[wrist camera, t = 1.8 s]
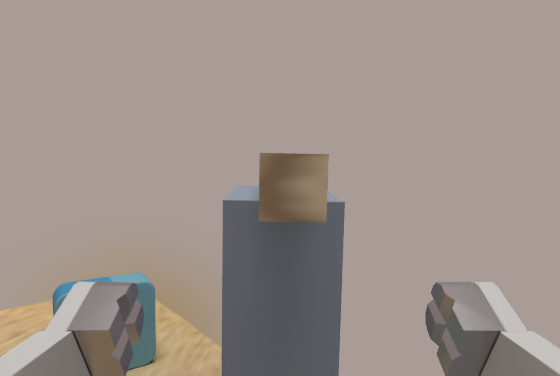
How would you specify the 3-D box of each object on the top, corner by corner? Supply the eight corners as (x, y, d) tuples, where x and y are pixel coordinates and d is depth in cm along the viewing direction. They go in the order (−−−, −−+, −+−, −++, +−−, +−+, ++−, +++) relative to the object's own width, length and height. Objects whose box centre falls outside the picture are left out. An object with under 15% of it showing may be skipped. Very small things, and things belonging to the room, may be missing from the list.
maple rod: (258, 221, 20) (259, 152, 19) (261, 186, 39) (262, 153, 39) (326, 222, 20) (328, 154, 19) (295, 187, 40) (296, 153, 39)
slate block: (220, 524, 30) (223, 200, 28) (233, 419, 42) (235, 186, 40) (333, 522, 31) (344, 202, 28) (313, 418, 43) (320, 187, 40)
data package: (148, 348, 57) (147, 270, 56) (156, 362, 53) (155, 279, 52) (55, 372, 51) (52, 284, 49) (56, 390, 47) (53, 295, 46)
